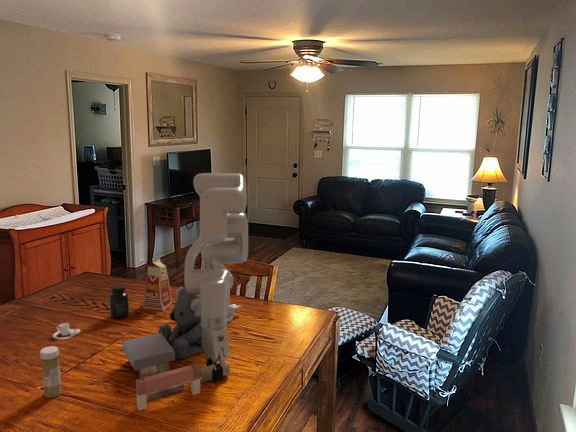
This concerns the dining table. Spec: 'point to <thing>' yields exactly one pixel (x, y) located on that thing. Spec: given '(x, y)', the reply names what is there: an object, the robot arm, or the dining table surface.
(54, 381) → the sprinkles bottle
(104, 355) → the dining table surface
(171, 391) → the track
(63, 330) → the white looped ring piece
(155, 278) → the milk carton
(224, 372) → the roller
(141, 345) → the slab
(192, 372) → the pink u-shaped frame
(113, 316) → the supplement bottle
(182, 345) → the koala plush
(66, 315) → the dining table surface
